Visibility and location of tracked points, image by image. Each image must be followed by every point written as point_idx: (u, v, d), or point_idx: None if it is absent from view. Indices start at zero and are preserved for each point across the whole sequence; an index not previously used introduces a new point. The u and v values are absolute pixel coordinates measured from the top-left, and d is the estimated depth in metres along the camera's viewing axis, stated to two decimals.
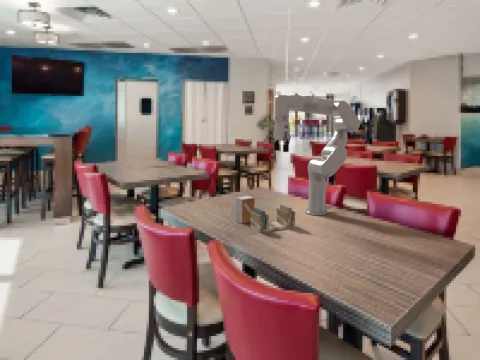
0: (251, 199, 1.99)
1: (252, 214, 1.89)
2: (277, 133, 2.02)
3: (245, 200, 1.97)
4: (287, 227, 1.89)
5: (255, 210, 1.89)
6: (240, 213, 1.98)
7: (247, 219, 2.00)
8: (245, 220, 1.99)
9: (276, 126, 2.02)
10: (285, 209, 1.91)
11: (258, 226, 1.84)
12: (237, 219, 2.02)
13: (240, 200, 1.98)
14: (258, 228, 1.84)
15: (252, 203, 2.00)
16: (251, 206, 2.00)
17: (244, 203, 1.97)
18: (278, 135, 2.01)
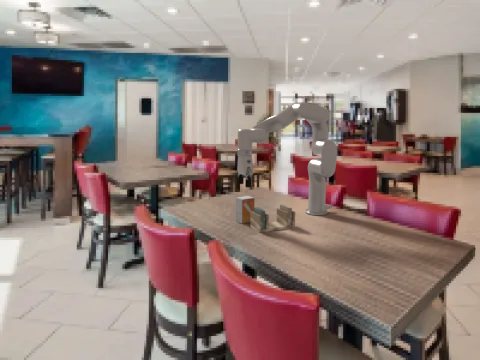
0: (251, 199, 1.99)
1: (252, 214, 1.89)
2: (240, 167, 1.97)
3: (245, 200, 1.97)
4: (287, 227, 1.89)
5: (255, 210, 1.89)
6: (240, 213, 1.98)
7: (247, 219, 2.00)
8: (245, 220, 1.99)
9: (239, 160, 1.97)
10: (285, 209, 1.91)
11: (258, 226, 1.84)
12: (237, 219, 2.02)
13: (240, 200, 1.98)
14: (258, 228, 1.84)
15: (252, 203, 2.00)
16: (251, 206, 2.00)
17: (244, 203, 1.97)
18: (241, 169, 1.96)
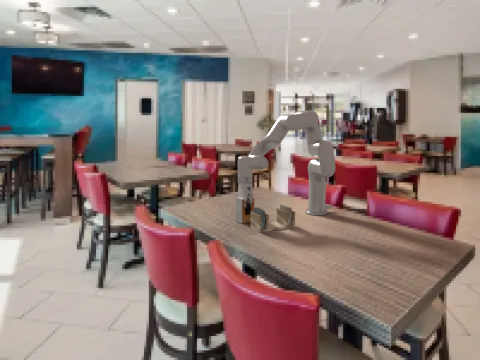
0: None
1: (252, 214, 1.89)
2: (240, 194, 2.00)
3: None
4: (287, 227, 1.89)
5: (255, 210, 1.89)
6: (240, 212, 1.98)
7: (247, 219, 2.00)
8: (245, 220, 1.99)
9: (239, 187, 2.00)
10: (285, 209, 1.91)
11: (258, 226, 1.84)
12: (237, 219, 2.02)
13: (240, 200, 1.98)
14: (258, 228, 1.84)
15: (252, 203, 2.00)
16: (251, 206, 2.00)
17: (244, 203, 1.97)
18: (241, 196, 1.99)
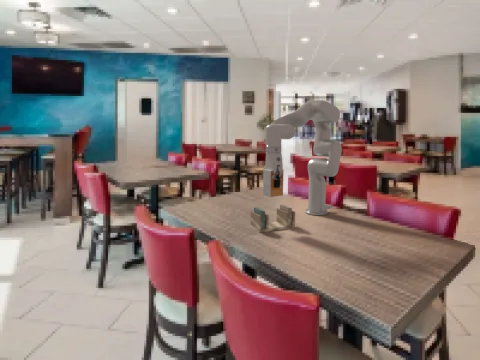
0: None
1: (252, 214, 1.89)
2: (269, 166, 1.86)
3: None
4: (287, 227, 1.89)
5: (255, 210, 1.89)
6: (269, 185, 1.84)
7: (275, 193, 1.86)
8: (273, 194, 1.85)
9: (267, 158, 1.86)
10: (285, 209, 1.91)
11: (258, 226, 1.84)
12: (265, 193, 1.88)
13: (268, 172, 1.84)
14: (258, 228, 1.84)
15: (281, 175, 1.86)
16: (280, 179, 1.86)
17: (272, 175, 1.83)
18: (270, 168, 1.85)
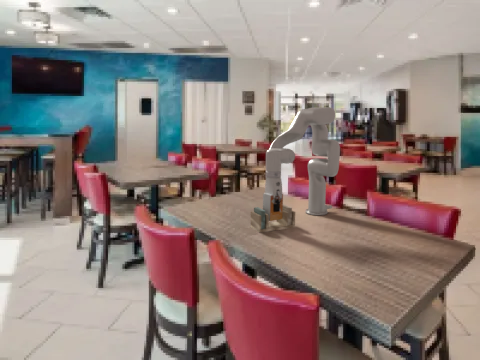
0: None
1: (252, 214, 1.89)
2: (268, 190, 1.88)
3: None
4: (287, 227, 1.89)
5: (255, 210, 1.89)
6: (268, 209, 1.86)
7: (275, 217, 1.88)
8: (273, 218, 1.87)
9: (267, 182, 1.88)
10: (285, 209, 1.91)
11: (258, 226, 1.84)
12: None
13: (268, 196, 1.86)
14: (258, 228, 1.84)
15: None
16: None
17: (272, 199, 1.85)
18: (269, 192, 1.87)
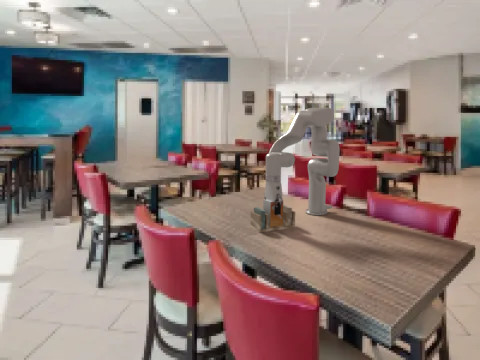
0: None
1: (252, 214, 1.89)
2: (268, 194, 1.88)
3: None
4: (287, 227, 1.89)
5: (255, 210, 1.89)
6: (269, 216, 1.87)
7: (275, 223, 1.88)
8: (273, 224, 1.88)
9: (267, 186, 1.88)
10: (285, 209, 1.91)
11: (258, 226, 1.84)
12: None
13: (268, 203, 1.86)
14: (258, 228, 1.84)
15: (281, 206, 1.88)
16: None
17: (272, 205, 1.86)
18: (269, 196, 1.87)
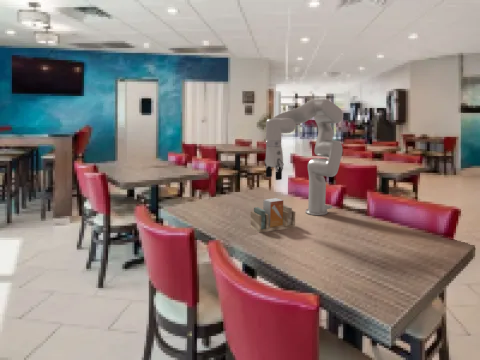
0: (280, 202, 1.88)
1: (252, 214, 1.89)
2: (269, 159, 1.88)
3: (274, 203, 1.86)
4: (287, 227, 1.89)
5: (255, 210, 1.89)
6: (269, 216, 1.87)
7: (275, 223, 1.88)
8: (273, 224, 1.88)
9: (268, 152, 1.88)
10: (285, 209, 1.91)
11: (258, 226, 1.84)
12: None
13: (268, 203, 1.86)
14: (258, 228, 1.84)
15: (281, 206, 1.88)
16: (280, 209, 1.88)
17: (272, 205, 1.86)
18: (270, 161, 1.87)
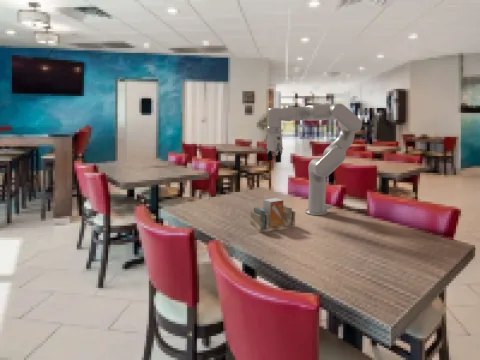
0: (280, 202, 1.88)
1: (252, 214, 1.89)
2: (270, 144, 2.10)
3: (274, 203, 1.86)
4: (287, 227, 1.89)
5: (255, 210, 1.89)
6: (269, 216, 1.87)
7: (275, 223, 1.88)
8: (273, 224, 1.88)
9: (269, 137, 2.10)
10: (285, 209, 1.91)
11: (258, 226, 1.84)
12: None
13: (268, 203, 1.86)
14: (258, 228, 1.84)
15: (281, 206, 1.88)
16: (280, 209, 1.88)
17: (272, 205, 1.86)
18: (271, 146, 2.09)
